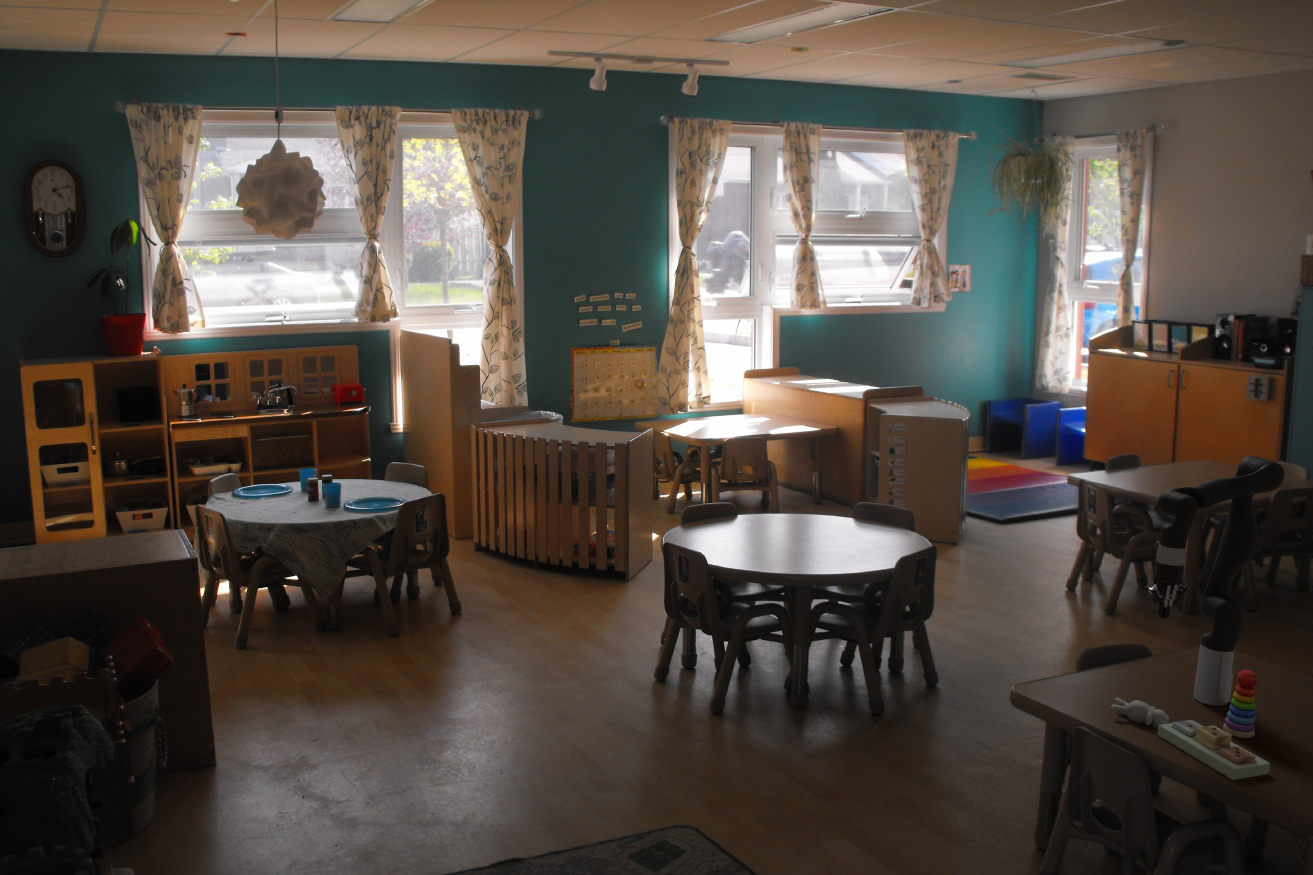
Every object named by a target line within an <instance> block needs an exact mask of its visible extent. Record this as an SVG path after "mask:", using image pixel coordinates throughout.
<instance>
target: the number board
mask: <svg viewBox="0 0 1313 875" xmlns="http://www.w3.org/2000/svg"><path fill="white" fill-rule="evenodd" d="M1190 720H1191V721H1193V722H1195V723H1197V724H1198V725H1200V726H1202V727H1205V726H1203V725H1202V724H1200V723H1198V722H1197V721H1195V720H1192V719H1190ZM1172 727H1173V722H1168V724H1162V725H1158V727H1157V733H1156V734H1157V736H1158V737H1160V738H1161V739H1163V740H1164V741H1167V742H1168V743H1170V744H1172V745H1173V746H1175V747H1176V748H1178V749H1181V750H1182V751H1183V752H1185V753H1187V754H1188V755H1190V756H1191V757H1193V758H1195V759H1197V760H1198V761H1200V762H1202V763H1204V764H1205V765H1207V766H1208V767H1211V768H1212V769H1213V770H1215V771H1217V772H1219V773H1221V775H1223V776H1225V777H1227V778H1229V779H1230V780H1232V781H1236V780H1240V779H1242V780H1243V779H1248V778H1252V777H1259V776H1265V775H1266V776H1267V775H1269V774H1270V773H1269V772H1270V766H1271V763H1270V762H1269V761H1267V760H1264V759H1263V758H1261V757H1260V756H1258V755H1256V754H1254V753H1252V752H1250V751H1248V750H1247V749H1245V748H1243V747H1241V746H1240V745H1238V744H1236V743H1234V742H1233V741H1231V744H1230V747H1232V746H1238V747H1240V748H1242V749H1244V750H1245V751H1247V752H1249V753H1251V754H1253V755H1254V756H1256V757H1255V762H1254V763H1248V764H1242V765H1236V764H1234V763H1232V762H1231V761H1229V760H1227V759H1225V758H1224V757H1222V756H1220V755H1218V753H1219V750H1216V751H1212V750H1210V749H1208V748H1206V747H1205V746H1203V745H1201V744H1199V743H1198V742H1196V741H1195V737H1190V738H1189V737H1187V736H1186V735H1184V734H1182V733H1180V732H1179V731H1177V730H1175V729H1173V728H1172Z"/></svg>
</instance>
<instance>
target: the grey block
mask: <svg viewBox="0 0 1313 875" xmlns="http://www.w3.org/2000/svg"><path fill="white" fill-rule="evenodd" d="M1191 720H1192V719H1186V720H1181V721H1174V722H1172V723H1173V727H1172V728H1173V729H1175V730H1177V731H1179V732H1180V733H1182V734H1184V735H1186V736H1187V737H1189V738H1190V737H1195V736H1196V728H1199V727H1202V726H1203V725H1202V726H1200V725H1201V724H1200V725H1198V724H1199V723H1198V722H1197V723H1198V724H1197V723H1195V722H1196V721H1195V722H1193V721H1194V720H1193V721H1191Z"/></svg>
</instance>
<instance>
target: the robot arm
mask: <svg viewBox="0 0 1313 875" xmlns="http://www.w3.org/2000/svg"><path fill="white" fill-rule="evenodd" d="M1235 472H1236V473H1235V476H1233V477H1231V476H1230V477H1221V478H1214V479H1209V480H1206V481H1203V482H1201V483H1198V484H1195V485H1191V486H1183V487H1176V488H1170V489H1167V490H1166V491H1164V492H1162V493H1161V494H1160V495H1159V497H1158V500H1157V507H1158V508H1157V509H1158V510H1159V511H1160V512H1161V513H1163V514H1165V515H1168V516H1170V517H1174V520H1173V523H1165V524H1163V525H1162V526H1161V528H1160V534H1159V542H1158V547H1157V551H1156V559H1155V565H1154V575H1155V580H1154V583H1153V585H1152V586H1151V587H1149V586H1148V587H1147V588H1146V591H1147V593H1148V595H1149V596H1150V599H1151V600H1152V602H1153V603H1154V604H1157V605H1158V611H1157V612H1158V613H1157V616H1158V617H1159V618H1161V619H1162V620H1168V619H1169V618H1170V614H1171V607H1173V605H1177V604H1178V603H1179V601H1180V600H1181V599H1182V597H1183V595H1184V594H1185V593H1186V591H1187V590H1188V587H1187V586H1185V585H1183V584H1182V579H1183V578H1184V574H1185V565H1186V558H1187V542H1188V535H1189V532H1190V529H1191V528H1192V526H1193V523H1194V521H1195V519H1196V516H1197V514H1198V510H1202V509H1203V510H1204V509H1207V508H1209V507H1212V506H1214V505H1217V504H1220V503H1223V502H1226V501H1229V500H1231V501H1230V506H1229V509H1228V514H1227V517H1226V521H1225V525H1224V528H1223V531H1222V535H1221V537H1220V542H1219V546H1218V550H1217V553H1216V557H1215V559H1214V562H1213V567H1212V570H1211V573H1210V575H1209V578H1208V580H1207V583H1206V586H1205V588H1204V590H1203V593H1202V596H1201V599H1200V602H1199V612H1200V615H1201V616H1202V617H1203V618H1204V619H1205V620H1207V621H1209V622H1211V623H1213V626H1212V630H1211V631H1209V632H1208V631H1207V632H1204V633H1203V634H1202V635H1201V637H1200V645H1199V652H1198V659H1197V667H1196V673H1195V674H1196V675H1195V680H1194V689H1193V694H1192V695H1193V698H1194V700H1196V701H1198V702H1199V703H1202V704H1203V705H1204V704H1205V705H1209V706H1215V707H1222V706H1227V704H1228V703H1231V696H1232V689H1233V682H1234V675H1235V674H1234V671H1233V664H1234V656H1235V650H1236V645H1237V643H1238V642H1239V640H1240V638H1241V632H1242V628H1243V622H1244V617H1245V612H1244V611H1245V610H1244V606H1243V604H1242V602H1240V600H1238V599H1236V598H1234V597H1231V596H1229V594H1230V590H1231V588H1232V587H1231V586H1232V584H1233V583H1232V582H1233V581H1234V580H1235V577H1236V576H1237V575H1238V573H1239V572H1240V571H1241V570H1242V569H1243V568H1244V567H1246V566H1247V565H1248V563H1250V561H1251V560H1252V558H1253V556H1254V553H1255V550H1256V546H1257V543H1258V539H1259V528H1258V523H1257V520H1256V517H1255V513H1254V509H1253V508H1254V507H1253V500H1254V499H1253V498H1254V495H1256V494H1262V493H1263V494H1264V493H1269V492H1273V491H1274V490H1277V489H1278V488H1279V487H1280V486H1282V484H1283V481H1284V480H1285V470H1284V467H1283V466H1282V465H1281V464H1280V463H1278V462H1276V461H1274V460H1270V459H1268V458H1264V457H1259V456H1255V455H1247V456H1245V457H1243V459H1241V460H1240V462H1239V464H1238V465H1237V469H1236V471H1235Z"/></svg>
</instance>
